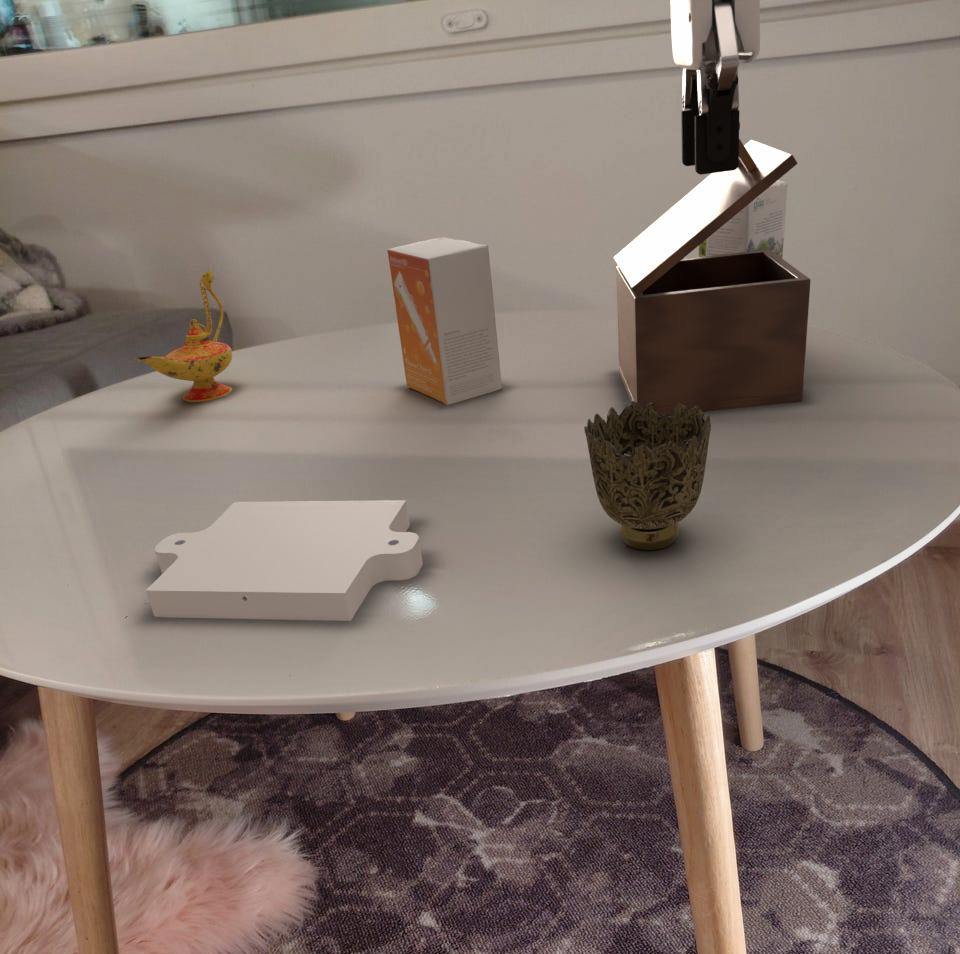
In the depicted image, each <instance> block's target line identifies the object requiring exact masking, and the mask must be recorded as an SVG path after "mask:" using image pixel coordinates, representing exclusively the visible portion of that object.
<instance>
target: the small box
mask: <svg viewBox="0 0 960 954" xmlns="http://www.w3.org/2000/svg"><path fill="white" fill-rule="evenodd" d="M489 251H490V250H489V245H488V244H481V243H476V242H473V241H469V240H466V239H465V240H464V239H455V238H450V237H436V238H431V239H426V240H421V241H417V242H416V241H415V242H412V243H408V244H403V245H399V246H395V247H391V248H387V258H388V263H389V269H390V271H389V272H390V279H391V284H392V290H393V291H392V292H393V299H394V305H395V313H396V319H397V326H398V332H399V333H398V334H399V341H400V346H401V355H402V361H403V369H404V375H405V383H406V387H407V388H408V389H409V388H410V389H412V390H414V391H417V392H419V393H421V394H423V395H425V396H428V397H430V398H432V399H434V400H437V401H438V402H441V403H443V404H444V405H446V406H450V405H454V404H456V403H459V402H462V401H466V400H470V399H473V398H476V397H480V396H484V395H487V394H490V393H493V392H497V391H499V390H501V389H503V383H502V373H501V372H502V371H501V364H500V353H499V344H498V343H499V342H498V331H497V322H496V321H497V320H496V312H495V311H496V310H495V304H494V303H495V300H494V290H493V280H492V270H491V260H490V252H489Z"/></svg>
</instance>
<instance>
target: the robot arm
mask: <svg viewBox="0 0 960 954" xmlns="http://www.w3.org/2000/svg"><path fill="white" fill-rule="evenodd" d="M760 1H761V0H670V30H671V31H670V34H671V48H672V49H671V50H672V51H671V52H672V58H673V62H674V64H675V65H676V66H678V67H679V68H681V69H682V91H681V92H682V96H681V106H682V110H681V111H680V121H681V123H680V124H681V125H680V127H681V129H680V131H681V163H682V165H684V167H693V166H694V171H695V173H696V174H698V175H701V176H702V175H710V174H711V173H717V172H725V171H732V170H735V169H737V168H738V165H739V139H740V130H739V121H740V109H739V108H740V89H739V87H740V86H739V64H749V63H753V62H754V61H755V60H756V58H757V57H758V56H759V54H760V50H761V11H760V7H761V6H760V4H761V3H760Z"/></svg>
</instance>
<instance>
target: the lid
mask: <svg viewBox="0 0 960 954" xmlns="http://www.w3.org/2000/svg"><path fill="white" fill-rule="evenodd" d="M740 129H741V121H740V120H739V131H740ZM797 165H798V162H797V160H796V158H795V156H794V155H793V154H792V153H789V152H786V151H784V150H781V149H778V148H775V147H773V146H771V145H768V144H765V143H762V142H760V141H757V140H754V139H750V140H748V142H746V143H745V144H744V143H743V142H742V140H741V138H739V165H738V168H737V169H735V170H732V171H725V172H717V173H710V174H708V175H707V176H706V177H705V178H704V179H703V180H701V182H700V183H698V184H697V185H696V186H695V187H694V188H692V189H691V190H690V191H689V192H688V193H686V194H685V196H683V197H682V198H681V199H680V200H679V201H678V202H676V203H675V204H674V205H673V206H671V207H670V208H669V209H668V210H667V211H666V212H664V213H663V214H662V215H661V216H660V217H658V218H657V220H654V222H653V223H652V224H650V225H649V226H648V227H647V228H646V229H644V230H643V231H642V232H641V233H640V234H638V236H636V237H635V238H633V240H632V241H630V242H629V243H628V244H627V245H626V246H625V247H623V248H622V249H621V250H620V251H619V252H618V253H616V254H615V255H614V256H613V257H612V258H613V260H614V261H615V263H616V266H619V268H620V270H621V271H622V273H623V275H624V276H625V278H626V280H627V281H628V283H629V285H630V286H631V288H632V289H633V291H634V292H635V293H636V295H637V296H638V295H640V294H641V293H642V292H643V291H644V290H646V289H647V288H648V287H649V286H650V285H652V284H653V283H654V282H655V281H657V280H658V279H659V278H660V277H661V276H663V275H664V274H665V273H666V272H667V271H669V270H670V269H671V268H672V267H673V266H675V265H676V264H677V263H678V262H679V261H681V260H682V259H685V258H687V256H688V255H690V254H691V252H693V251H694V250H695V249H697V248H699V245H700V244H701V243H702V242H704V241H705V240H706V239H707V238H708V237H710V236H711V235H712V234H713V233H714V232H716V231H717V230H718V229H719V228H721V227H722V226H723V225H724V224H725V223H727V222H728V221H729V220H730V219H731V218H733V217H734V216H735V215H736V214H737V213H739V212H740V211H741V210H742V209H743V208H745V207H746V206H747V205H748V204H750V203H751V202H752V201H753V200H754V199H756V198H757V197H758V196H759V195H760V194H762V193H763V192H764V191H765V190H766V189H768V188H769V187H770V186H771V185H772V184H774V183H775V182H776V181H777V180H780V179H781V178H782V177H783V176H784V175H786V174H788V172H790V171H791V170H792V169H793V168H795V167H796V166H797Z"/></svg>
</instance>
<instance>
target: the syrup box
mask: <svg viewBox="0 0 960 954" xmlns="http://www.w3.org/2000/svg"><path fill="white" fill-rule="evenodd" d="M787 196H788V182H786V181H785V180H780V179H779V180H777V181H776V182H775V183H774V184H772V185H771V186H770V187H769V188H768V189H766V190H765V191H764V192H763V193H762V194H760V195H759V196H758V197H757V198H756V199H754V200H753V201H752V202H751V203H750V204H748V205H747V206H746V207H745V208H743V209H742V210H741V211H740V212H739V213H737V214H736V215H735V216H734V217H733V218H731V219H730V220H729V221H728V222H727V223H725V224H724V225H723V226H722V227H721V228H719V229H718V230H717V231H716V232H714V233H713V234H712V235H711V236H710V237H708V238H707V239H706V240H705V241H704V242H702V243H701V244H700V245H699V246H698V257H705V256H714V255H723V254H732V253H741V252H750V251H759V250H768V249H770V250H771V251H773V252H774V253H775V254H777V255H778V256H779V257H781V258H782V259H783V256H784V242H785V224H786V213H787V212H786V211H787Z"/></svg>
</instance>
